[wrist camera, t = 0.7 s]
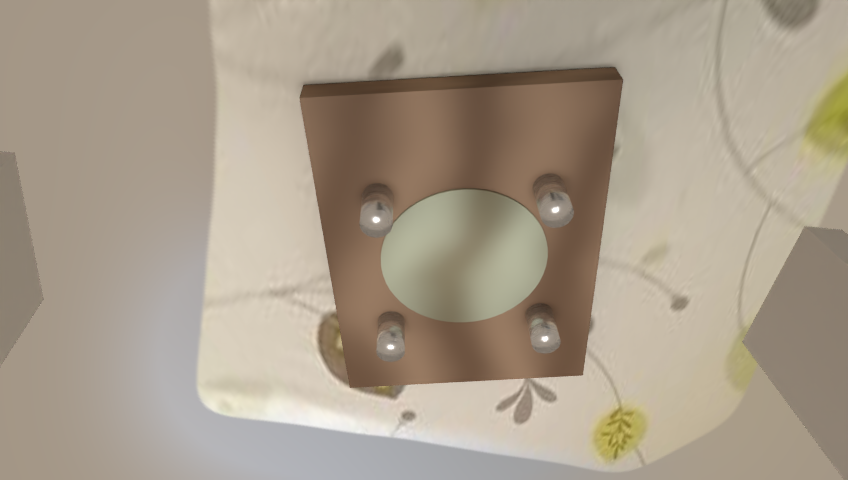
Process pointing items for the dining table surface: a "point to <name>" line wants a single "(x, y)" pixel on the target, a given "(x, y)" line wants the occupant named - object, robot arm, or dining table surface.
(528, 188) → the stub board
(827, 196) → the dining table surface
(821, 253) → the robot arm
